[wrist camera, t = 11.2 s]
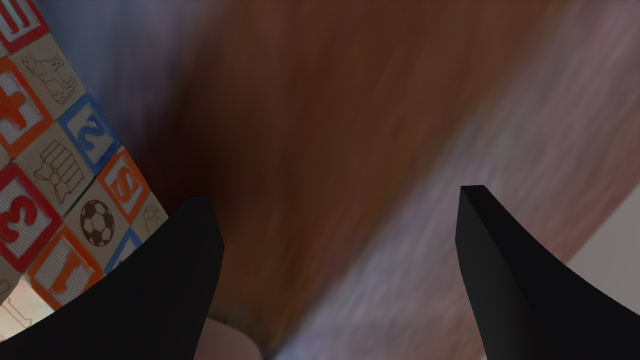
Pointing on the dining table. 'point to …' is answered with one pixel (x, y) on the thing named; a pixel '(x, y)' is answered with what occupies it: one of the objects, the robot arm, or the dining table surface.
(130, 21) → the dining table surface
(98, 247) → the stack of blocks
